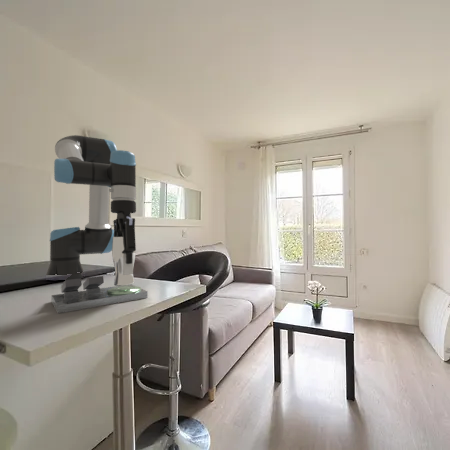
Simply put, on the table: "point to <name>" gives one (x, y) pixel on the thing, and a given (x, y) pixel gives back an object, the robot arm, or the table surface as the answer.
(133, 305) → the table surface
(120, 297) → the switch panel
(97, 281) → the rocker plain
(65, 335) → the table surface
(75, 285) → the rocker tagged
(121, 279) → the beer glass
